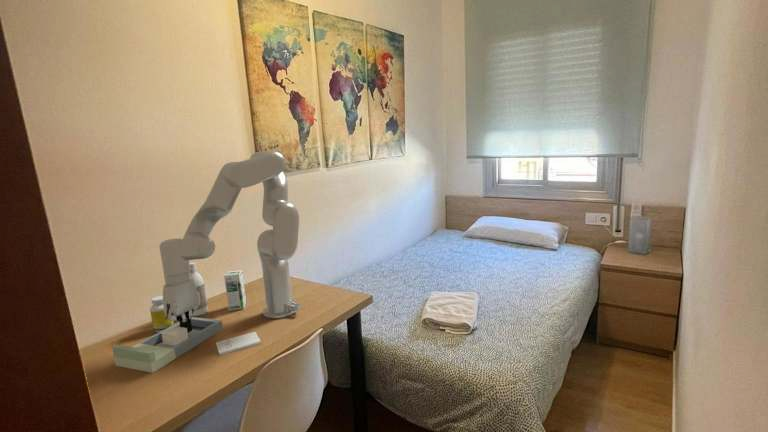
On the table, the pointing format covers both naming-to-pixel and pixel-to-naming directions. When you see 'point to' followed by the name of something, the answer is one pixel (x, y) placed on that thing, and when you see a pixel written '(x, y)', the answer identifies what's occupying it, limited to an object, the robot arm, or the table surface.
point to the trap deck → (163, 347)
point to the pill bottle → (159, 315)
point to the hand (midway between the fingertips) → (186, 331)
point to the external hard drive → (237, 343)
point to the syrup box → (235, 290)
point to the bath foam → (199, 291)
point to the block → (175, 336)
